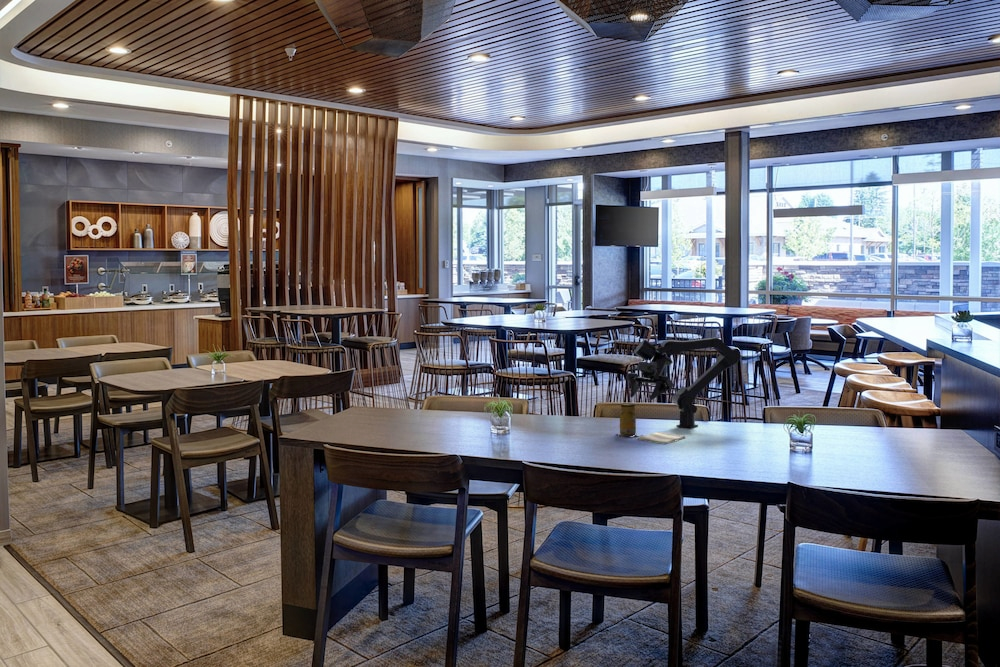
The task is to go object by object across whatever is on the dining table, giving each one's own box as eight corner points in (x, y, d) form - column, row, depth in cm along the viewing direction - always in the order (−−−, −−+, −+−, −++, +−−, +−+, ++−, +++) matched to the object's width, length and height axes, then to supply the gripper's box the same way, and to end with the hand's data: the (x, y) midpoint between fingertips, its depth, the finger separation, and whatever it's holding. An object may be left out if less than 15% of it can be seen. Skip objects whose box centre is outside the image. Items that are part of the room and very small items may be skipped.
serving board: (657, 433, 306) (657, 431, 306) (685, 438, 298) (685, 435, 298) (637, 439, 296) (637, 437, 296) (665, 444, 288) (665, 442, 287)
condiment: (627, 432, 310) (627, 401, 309) (644, 435, 303) (644, 404, 302) (614, 435, 305) (614, 404, 304) (631, 438, 299) (631, 406, 298)
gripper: (628, 352, 318) (612, 383, 311) (669, 355, 305) (653, 387, 298) (639, 370, 324) (624, 400, 317) (679, 373, 311) (664, 405, 304)
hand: (640, 398), depth 309 cm, fingers open, 9 cm apart
